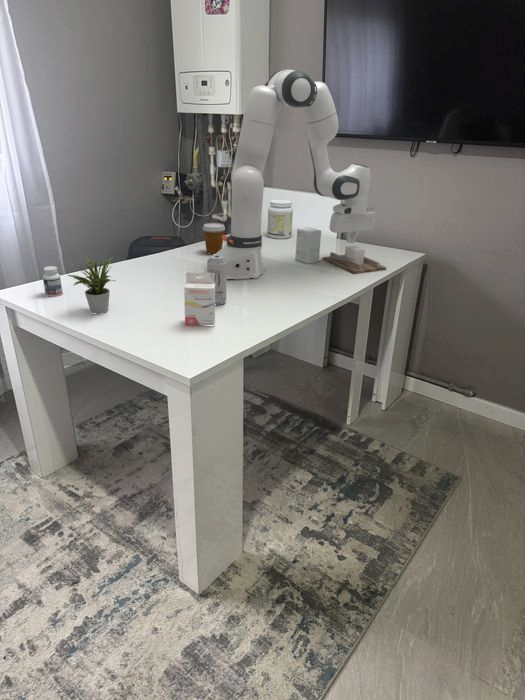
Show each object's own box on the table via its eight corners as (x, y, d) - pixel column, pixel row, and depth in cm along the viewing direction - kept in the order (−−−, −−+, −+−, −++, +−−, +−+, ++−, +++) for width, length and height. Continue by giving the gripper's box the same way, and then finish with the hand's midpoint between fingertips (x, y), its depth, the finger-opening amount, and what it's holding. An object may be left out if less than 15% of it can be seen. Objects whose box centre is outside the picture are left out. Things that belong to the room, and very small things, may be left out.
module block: (354, 265, 203) (355, 250, 200) (344, 260, 209) (345, 246, 206) (363, 263, 205) (364, 249, 202) (352, 259, 211) (354, 245, 208)
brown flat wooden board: (353, 274, 195) (354, 266, 194) (322, 259, 213) (322, 252, 211) (385, 269, 202) (387, 262, 201) (353, 255, 219) (353, 249, 218)
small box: (319, 261, 210) (321, 230, 204) (308, 264, 206) (310, 232, 200) (305, 257, 215) (307, 226, 209) (294, 259, 211) (296, 228, 206)
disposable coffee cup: (204, 249, 220) (204, 222, 215) (226, 250, 220) (226, 223, 215) (201, 255, 212) (200, 227, 206) (223, 256, 212) (223, 228, 206)
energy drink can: (205, 305, 160) (204, 258, 153) (209, 298, 165) (209, 253, 159) (224, 306, 159) (224, 260, 153) (228, 300, 164) (228, 255, 158)
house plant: (96, 298, 162) (91, 248, 155) (133, 305, 157) (129, 254, 150) (66, 313, 150) (58, 259, 143) (104, 321, 145) (98, 266, 138)
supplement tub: (280, 232, 256) (281, 198, 248) (296, 237, 248) (299, 202, 240) (261, 235, 249) (263, 200, 241) (278, 240, 240) (280, 204, 233)
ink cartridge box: (184, 326, 144) (182, 276, 137) (186, 319, 148) (184, 271, 142) (214, 326, 144) (214, 277, 138) (215, 320, 149) (215, 272, 142)
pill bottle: (45, 292, 165) (41, 266, 161) (62, 291, 167) (58, 265, 163) (45, 297, 161) (41, 270, 157) (62, 296, 163) (59, 269, 159)
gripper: (371, 205, 205) (366, 239, 211) (329, 206, 196) (325, 242, 202) (381, 208, 200) (375, 242, 206) (338, 210, 191) (334, 246, 197)
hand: (350, 242), depth 204 cm, fingers closed
